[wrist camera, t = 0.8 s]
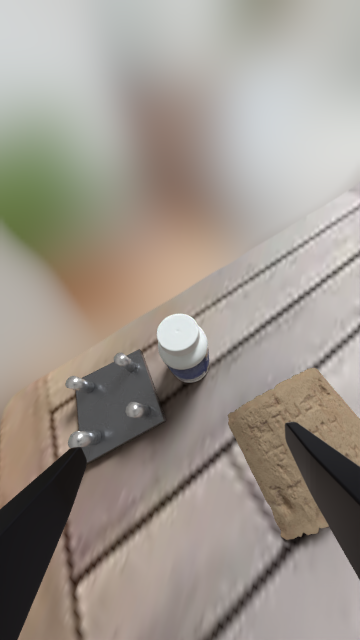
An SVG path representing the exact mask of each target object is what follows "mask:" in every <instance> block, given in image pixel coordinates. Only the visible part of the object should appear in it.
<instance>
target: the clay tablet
mask: <svg viewBox="0 0 360 640" xmlns="http://www.w3.org/2000/svg"><path fill="white" fill-rule="evenodd" d="M228 417H229V422H228V424H229V427H230V429H231V431H232V433H233V435H234V436H235V438H236V440H237V442H238V445H239V447H240V448H241V450H242V452H243V454H244V456H245V459H246V461H247V463H248V465H249V467H250V469H251V471H252V473H253V475H254V477H255V479H256V481H257V483H258V485H259V487H260V489H261V491H262V493H263V495H264V497H265V500H266V501H267V503H268V504H269V505H270V507H271V509H272V512H273V515H274V518H275V521H276V523H277V525H278V526H279V528H280V530H281V537H283V538H284V539H286V540H288V539H294V538H297V536H299V537H301V536H302V534H303V532H304V533H305V534H307V535H310V534H317V533H318V531H319V527H320V528H325V527H328V526H329V525H328V523H327V522H326V520H325V518H324V516H323V515H322V513H321V511H320V509H319V508H318V506H317V504H316V502H315V501H314V499H313V497H312V495H311V493H310V491H309V489H308V487H307V485H306V483H305V481H304V479H303V477H302V475H301V473H300V470H299V468H298V466H297V464H296V462H295V460H294V458H293V456H292V454H291V451H290V449H289V447H288V445H287V443H286V439H285V423H286V422H297V423H299V424H300V425H301V426H303V427H304V428H306V429H307V430H309V431H310V432H311V433H313V434H314V435H316V436H317V437H318V438H320V439H321V440H323V441H324V442H326V443H327V444H328V445H330V446H331V447H333V448H334V449H336V450H337V451H338V452H340V453H341V454H343V455H344V456H346V457H347V458H348V459H350V460H351V461H353V462H354V463H355V464H357V465H358V466H360V419H359V418H358V417H357V415H356V414H355V413H354V412H353V411H352V410H351V409H350V407H349V406H348V405H347V404H346V403H345V401H344V400H343V399H342V398H341V397H340V395H339V394H338V393H337V392H336V391H335V390H334V389H333V387H332V386H331V385H330V384H329V383H328V382H327V380H326V379H325V378H324V377H323V376H322V374H321V373H320V372H319V371H318V369H315V368H310V369H307V370H305V371H304V372H301V373H300V374H297V375H294V376H293V377H292V378H291V379H287V380H285V381H283V382H281V383H279V384H277V385H276V386H275V388H274V389H271V390H268V391H267V392H265V393H263V394H262V395H259V396H256V398H254V400H252V401H249V402H247V403H246V404H245V405H242V407H240V408H239V409H238V410H235V412H232V413H230V414H229V415H228Z"/></svg>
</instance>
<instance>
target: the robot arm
mask: <svg viewBox="0 0 360 640" xmlns="http://www.w3.org/2000/svg"><path fill="white" fill-rule="evenodd" d="M285 439H286V443H287V445H288V447H289V449H290V451H291V454H292V456H293V458H294V460H295V462H296V464H297V466H298V468H299V470H300V473H301V475H302V477H303V479H304V481H305V483H306V485H307V487H308V489H309V491H310V493H311V495H312V497H313V499H314V501H315V502H316V504H317V506H318V508H319V509H320V511H321V513H322V515H323V516H324V518H325V520H326V522H327V523H328V525H329V527H330V529H331V530H332V532H333V534H334V536H335V537H336V539H337V541H338V543H339V544H340V546H341V548H342V550H343V551H344V553H345V555H346V557H347V558H348V560H349V562H350V564H351V565H352V567H353V569H354V571H355V572H356V574H357V576H358V578H359V579H360V466H358V465H357V464H355V463H354V462H353V461H351V460H350V459H348V458H347V457H346V456H344V455H343V454H341V453H340V452H338V451H337V450H336V449H334V448H333V447H331V446H330V445H328V444H327V443H326V442H324V441H323V440H321V439H320V438H318V437H317V436H316V435H314V434H313V433H311V432H310V431H309V430H307V429H306V428H304V427H303V426H301V425H300V424H299V423H297V422H286V423H285ZM86 465H87V459H86V456H85V454H84V452H83V450H82V448H81V447H73V448H71V449H69V450H68V451H67V452H66V453H65V454H63V455H62V456H61V457H60V458H59V459H58V460H56V461H55V462H54V463H53V464H52V465H51V466H50V467H48V468H47V469H46V470H45V471H44V472H43V473H42V474H40V475H39V476H38V477H37V478H36V479H35V480H33V481H32V482H31V483H30V484H29V485H28V486H27V487H25V488H24V489H23V490H22V491H21V492H20V493H19V494H17V495H16V496H15V497H14V498H13V499H12V500H10V501H9V502H8V503H7V504H6V505H5V506H4V507H2V508H1V509H0V640H17V639H18V637H19V635H20V632H21V630H22V627H23V625H24V623H25V620H26V618H27V616H28V613H29V611H30V608H31V606H32V604H33V601H34V599H35V596H36V594H37V592H38V589H39V587H40V584H41V582H42V580H43V577H44V575H45V572H46V570H47V568H48V565H49V563H50V560H51V558H52V556H53V553H54V551H55V548H56V546H57V544H58V541H59V539H60V536H61V534H62V532H63V529H64V527H65V524H66V522H67V520H68V517H69V515H70V512H71V509H72V507H73V504H74V501H75V498H76V495H77V492H78V489H79V486H80V483H81V480H82V477H83V475H84V472H85V469H86Z"/></svg>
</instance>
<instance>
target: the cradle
mask: <svg viewBox="0 0 360 640" xmlns="http://www.w3.org/2000/svg"><path fill="white" fill-rule="evenodd" d="M66 387H67V388H70V389H74V390H76V397H77V410H78V423H79V431H76V432H74V433H72V434H71V436H70V437H69V440H68V445H69V447H70V448H73V447H81V448H82V450H83V452H84V454H85V456H86V459H87V464H89V463H90V462H92V461H94V460H96V459H98V458H100V457H101V456H103V455H105V454H107V453H109V452H110V451H112V450H114V449H116V448H118V447H120V446H121V445H123V444H125V443H127V442H129V441H130V440H132V439H134V438H136V437H138V436H140V435H141V434H143V433H145V432H147V431H149V430H151V429H152V428H154V427H156V426H158V425H160V424H161V423H163V422H165V421H166V418H165V416H164V413H163V410H162V407H161V404H160V401H159V398H158V396H157V393H156V390H155V387H154V384H153V381H152V378H151V376H150V373H149V370H148V367H147V364H146V361H145V358H144V356H143V353H142V351H141V350H140V349H139V350H137V351H135V352H133V353H131V354H129V355H127V356H126V355H124V354H123V353H118V354H116V355H115V357H114V362H113V363H111V364H109V365H107V366H105V367H103V368H101V369H99V370H97V371H95V372H93V373H91V374H89V375H87V376H85V377H83V378H79V377H76V376H71V377H69V378H68V379H67V381H66Z"/></svg>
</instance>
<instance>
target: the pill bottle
mask: <svg viewBox="0 0 360 640" xmlns="http://www.w3.org/2000/svg"><path fill="white" fill-rule="evenodd" d="M157 339H158V351H159V354H160V356H161V358H162V360H163V361H164V363H165V364H166V365H167V366H168V368H169V369H170V370H171V371H172V373H173V374H174V375H175V376H176V377H177V378H178V379H179V380H181V381H183V382H188V383H191V382H196V381H198V380H200V379H202V378H203V377H204V376H205V375H206V373H207V371H208V368H209V352H208V342H207V338H206V335H205V333H204V331H203V330H202V329H201V328H200V327H199V326H198V325H197V323H196V321H195V320H194V319H193V318H192V317H190V316H188V315H185V314H174V315H171V316H169V317H167V318H165V319H164V320H163V321H162V322H161V323H160V325H159V327H158V330H157Z"/></svg>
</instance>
